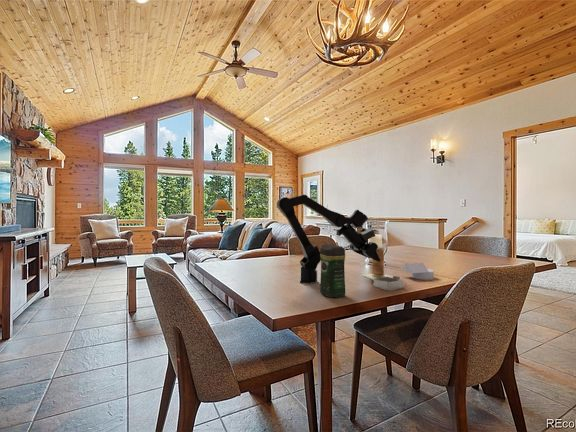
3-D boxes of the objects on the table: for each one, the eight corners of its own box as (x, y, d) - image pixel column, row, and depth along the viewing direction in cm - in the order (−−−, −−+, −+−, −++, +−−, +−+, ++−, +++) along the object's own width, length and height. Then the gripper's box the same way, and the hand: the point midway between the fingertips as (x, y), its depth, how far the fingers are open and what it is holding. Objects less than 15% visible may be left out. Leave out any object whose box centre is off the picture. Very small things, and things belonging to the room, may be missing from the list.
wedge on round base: (411, 280, 131) (438, 279, 133) (411, 265, 131) (438, 264, 133) (400, 276, 140) (425, 274, 142) (400, 261, 140) (425, 260, 142)
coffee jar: (349, 296, 108) (349, 245, 108) (330, 299, 105) (330, 247, 104) (334, 289, 117) (334, 242, 116) (317, 292, 114) (316, 243, 113)
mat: (375, 281, 130) (375, 279, 130) (361, 275, 140) (361, 274, 140) (396, 279, 134) (396, 277, 134) (380, 273, 144) (380, 272, 144)
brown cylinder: (375, 277, 134) (375, 249, 133) (369, 275, 139) (369, 247, 139) (386, 277, 135) (387, 248, 135) (380, 274, 140) (380, 246, 140)
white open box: (389, 290, 115) (389, 281, 115) (373, 286, 122) (373, 277, 122) (406, 287, 120) (406, 278, 120) (389, 282, 127) (389, 274, 127)
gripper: (374, 224, 126) (397, 249, 128) (355, 221, 144) (376, 244, 146) (356, 243, 124) (380, 268, 127) (339, 238, 143) (361, 260, 145)
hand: (374, 259), depth 136 cm, fingers open, 9 cm apart
